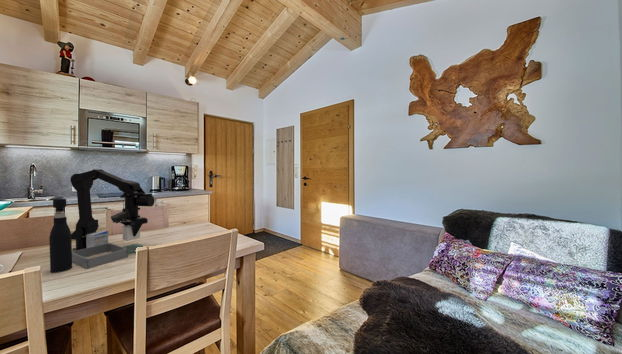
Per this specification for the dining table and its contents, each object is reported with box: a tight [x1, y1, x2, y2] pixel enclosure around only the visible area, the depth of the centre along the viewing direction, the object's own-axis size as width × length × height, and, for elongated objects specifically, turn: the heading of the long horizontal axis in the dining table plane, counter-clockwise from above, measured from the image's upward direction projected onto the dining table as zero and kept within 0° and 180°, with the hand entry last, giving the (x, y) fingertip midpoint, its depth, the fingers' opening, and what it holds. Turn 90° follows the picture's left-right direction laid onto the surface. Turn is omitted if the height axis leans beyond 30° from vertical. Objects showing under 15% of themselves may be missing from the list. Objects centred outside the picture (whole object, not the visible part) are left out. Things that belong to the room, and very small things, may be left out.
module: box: [122, 225, 141, 242], centre depth 124 cm, size 4×6×7 cm
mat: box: [123, 243, 144, 255], centre depth 125 cm, size 11×9×1 cm
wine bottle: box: [48, 198, 73, 274], centre depth 99 cm, size 6×6×30 cm
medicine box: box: [86, 230, 109, 248], centre depth 124 cm, size 8×4×9 cm, turn 175°
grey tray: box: [72, 242, 129, 270], centre depth 112 cm, size 17×15×4 cm
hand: (131, 235), depth 124 cm, fingers closed on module, 4 cm apart
